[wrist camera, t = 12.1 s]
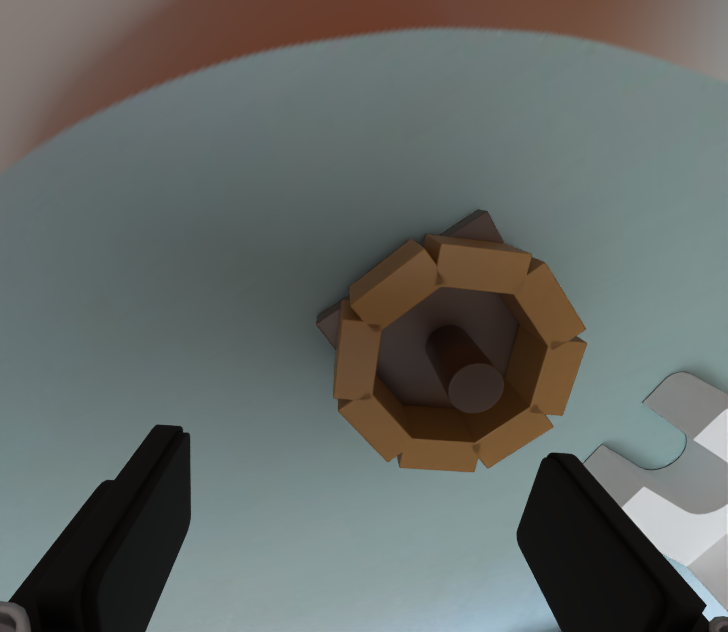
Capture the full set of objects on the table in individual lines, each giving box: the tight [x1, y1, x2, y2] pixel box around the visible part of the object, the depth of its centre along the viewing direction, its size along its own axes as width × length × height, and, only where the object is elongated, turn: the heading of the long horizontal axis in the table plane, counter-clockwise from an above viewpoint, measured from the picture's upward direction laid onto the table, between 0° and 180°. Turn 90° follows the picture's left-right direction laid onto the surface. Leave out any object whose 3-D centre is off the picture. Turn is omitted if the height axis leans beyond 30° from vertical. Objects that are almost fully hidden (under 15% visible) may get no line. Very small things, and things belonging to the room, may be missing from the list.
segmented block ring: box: [333, 234, 587, 472], centre depth 19 cm, size 11×11×3 cm
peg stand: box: [316, 210, 519, 413], centre depth 19 cm, size 10×10×6 cm
